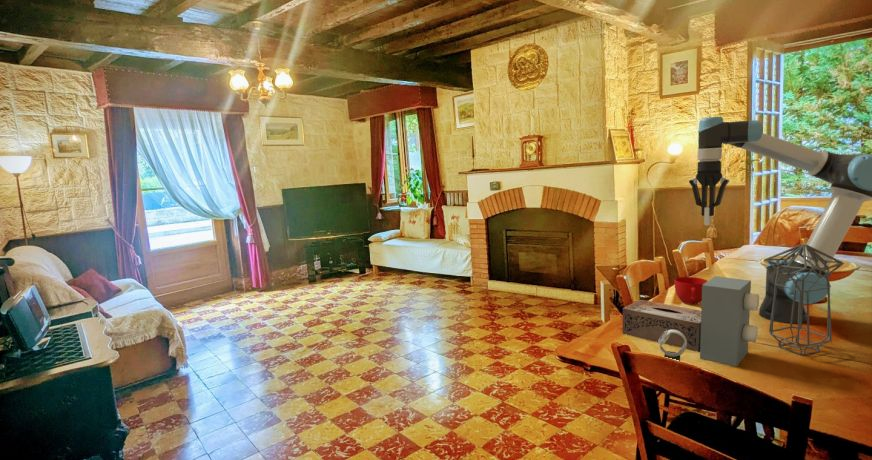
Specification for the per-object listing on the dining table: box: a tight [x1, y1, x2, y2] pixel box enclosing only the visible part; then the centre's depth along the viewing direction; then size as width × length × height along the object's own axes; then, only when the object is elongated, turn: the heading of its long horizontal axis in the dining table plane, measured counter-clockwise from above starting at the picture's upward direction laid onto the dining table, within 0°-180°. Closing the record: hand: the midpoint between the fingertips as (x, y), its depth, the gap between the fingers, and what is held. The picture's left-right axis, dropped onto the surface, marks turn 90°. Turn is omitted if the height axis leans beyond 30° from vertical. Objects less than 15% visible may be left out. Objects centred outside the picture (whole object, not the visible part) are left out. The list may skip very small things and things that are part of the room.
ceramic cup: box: [673, 276, 709, 306], centre depth 204 cm, size 13×17×10 cm
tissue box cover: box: [622, 299, 702, 353], centre depth 168 cm, size 26×14×10 cm, turn 43°
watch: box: [657, 329, 687, 362], centre depth 145 cm, size 6×8×11 cm
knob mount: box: [699, 275, 752, 368], centre depth 149 cm, size 10×14×24 cm
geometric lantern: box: [763, 243, 845, 356], centre depth 150 cm, size 16×16×35 cm
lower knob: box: [742, 324, 758, 343], centre depth 147 cm, size 9×5×5 cm, turn 45°
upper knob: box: [743, 292, 760, 312], centre depth 145 cm, size 9×5×5 cm, turn 45°
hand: (707, 224), depth 174 cm, fingers closed
